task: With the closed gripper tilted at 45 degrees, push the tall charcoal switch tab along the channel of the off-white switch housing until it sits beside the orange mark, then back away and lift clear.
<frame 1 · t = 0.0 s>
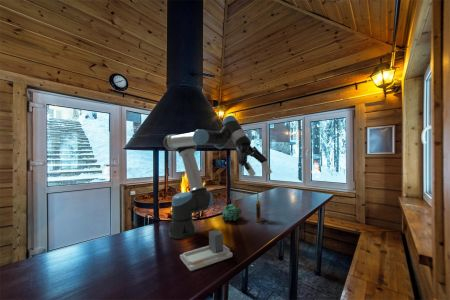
hand: (262, 174, 92), 36 cm above the table, tool tilted 35°, fingers open, 13 cm apart
switch housing: (206, 257, 87), on the table
switch tab: (215, 241, 90), point 6 cm above the table, slide at 0.0 cm
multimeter: (264, 221, 135), on the table
mineral: (231, 220, 140), on the table
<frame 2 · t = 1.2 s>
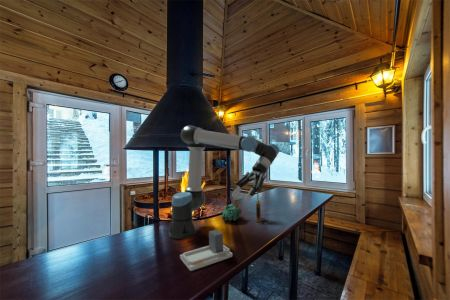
hand: (239, 198, 100), 23 cm above the table, tool tilted 45°, fingers open, 11 cm apart
nothing on the table moved.
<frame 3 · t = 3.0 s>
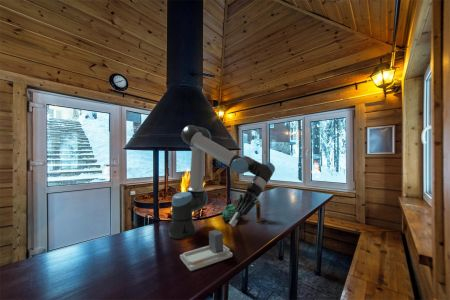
hand: (231, 225, 95), 12 cm above the table, tool tilted 45°, fingers closed
nothing on the table moved.
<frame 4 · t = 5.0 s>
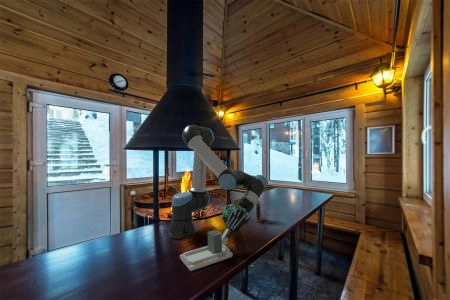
hand: (221, 242, 91), 5 cm above the table, tool tilted 45°, fingers closed
switch tab: (214, 241, 90), point 6 cm above the table, slide at 0.7 cm, touching gripper
everything else where it was.
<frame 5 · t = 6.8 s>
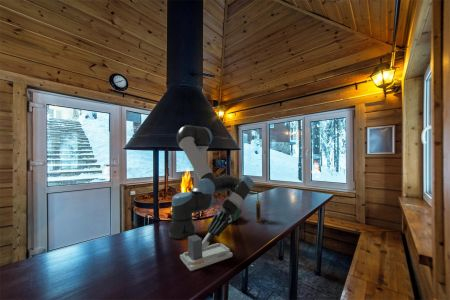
hand: (202, 247, 86), 5 cm above the table, tool tilted 45°, fingers closed
switch tab: (194, 247, 85), point 6 cm above the table, slide at 10.4 cm
everything else where it was.
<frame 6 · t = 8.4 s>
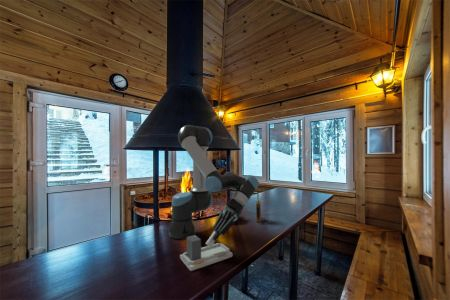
hand: (208, 245, 88), 5 cm above the table, tool tilted 45°, fingers closed
switch tab: (193, 247, 84), point 6 cm above the table, slide at 11.0 cm
everything else where it was.
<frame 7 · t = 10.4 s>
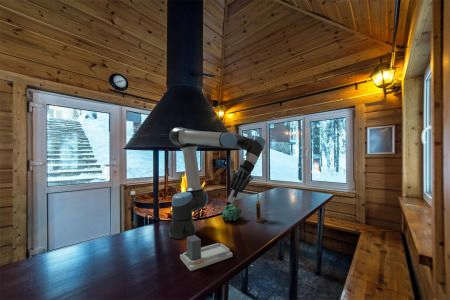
hand: (229, 202, 102), 21 cm above the table, tool tilted 30°, fingers closed
nothing on the table moved.
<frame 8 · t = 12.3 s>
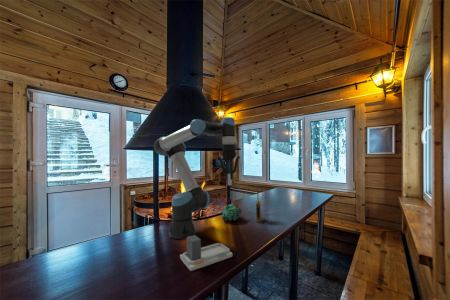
hand: (229, 185, 113), 28 cm above the table, tool pointing down, fingers closed
nothing on the table moved.
at the end: switch tab slide at 11.0 cm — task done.
